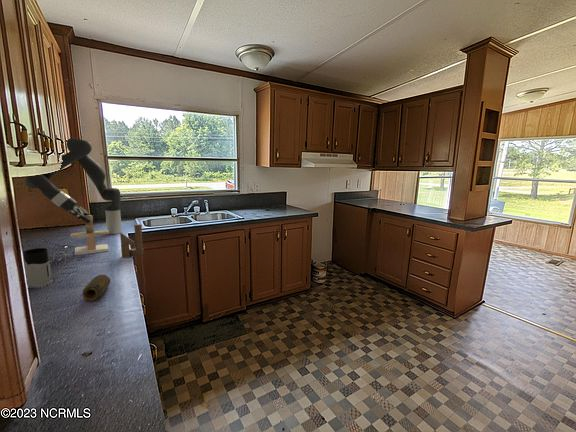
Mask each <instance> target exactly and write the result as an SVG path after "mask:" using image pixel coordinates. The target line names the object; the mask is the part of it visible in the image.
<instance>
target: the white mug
mask: <svg viewBox="0 0 576 432" xmlns="http://www.w3.org/2000/svg"><path fill="white" fill-rule="evenodd" d="M59 253H60V254H61V253H62V254H63V255H64V262H63V264H62V266H61V267H60V268H59V269H58V270H56V271H55V273H53V274H52V270H51V264H50V263H53V262H54V261H55V255H56V254H59ZM22 254H23V263H25V266H24V271H25V270H26V273H25V276H26V275H27V280H26V283H27V282H28V288H29V286H30V285H31V286H42V285H46V284H49V283H51V282H52V281H53V277H54V276H55V275H56V274H57V273H58V272H59V271H61V270H62V269H64V267H65V266H66V262H67V255H66V253H65V252H63V251H56V252H54V253H53V255H52V260H51V261H50V260H49V252H48V248H45V247H38V248H31V249H26V250H24V251H23V253H22ZM53 282H54V281H53ZM28 288H27V289H28Z"/></svg>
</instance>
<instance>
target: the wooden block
mask: <svg viewBox="0 0 576 432" xmlns="http://www.w3.org/2000/svg"><path fill="white" fill-rule="evenodd" d="M142 226H143V225H142V224H141V223H135V224H134V240H135V241H134V240H133V239H131V238H130V237H128V236H127V235H126V234H125V233H123V232H120V233H119V234H120V235H119V236H120V247H121V249H120V251H121V252H120V253H121V257H122V258H123V259H125V258H130V257H137V256H138V257H139V256H144V255H145V251H144V246H143V227H142ZM131 245H135V248H130V246H131Z"/></svg>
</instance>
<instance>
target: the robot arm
mask: <svg viewBox="0 0 576 432" xmlns="http://www.w3.org/2000/svg"><path fill="white" fill-rule="evenodd" d="M66 149H67V150H68V152H67V153H64V154H62V160H63V162H62V163H61V164H62V165H61V168H60V170H58V171H55V172H52V173H48V174H43V175H36V176H29V177H27V176H26V177H25V180H24V181H25V182H24V183H25V185H26V186H27V187H28V188H31V189H38V190H39V191H41V194H42V196H44V197H45V198H47V199H49V201H51V202H52V203H53V204H55V205H56V206H57V207H59V208H60V209H61V210H63V211H64V212H66V213H67V212H69V213H70V214H71V215H73V216H74V217H75V218H77V219H78V220H82V221H83V222H86V223H89V222H90V221H91V220H90V219H88V218H87V217H86V216H87V215H91V214H90V213H89V211H87V210H86V209H84V208H83V207H82V206H81V205H77V204H78V201H77V200H75V199H74V198H73V197H71V196H70V195H69V194H67V193H66V192H64V191H62V190H61V189H59V188H58V187H57V186H55V185H54V184H53V183H52V182H51V180H50V179H51V178H52V177H54V176H55V175H57V174H58V173H59V172H60V171H62V170H63V169H64V168H66V167H67V166H69V165H71V164H72V163H75V162H76V161H78V164H80V166H81V167H82V169H83V170H84V172H85V173H86V175H87V176H88V178H89V179H90V180H91V181H92V183H93V184H94V186H95V188H96V189H97V191H98V193H99V195H100V196H101V197H100V198H102V200H104V201H106V202H107V201H108V202H109V201H111V204H108V205H106V206H105V207H104V210H105V223H106V230H108V231H109V234H108V235H117V234H120V232H121V233H123V231H122V217H121V216H122V215H121V214H122V213H121V197H122V195H121V191H120V189H119V188H118V187H117V188H116V187H107V186H106V184H105V180H106V173H105V171H104V169H103V168H102V167H101V165H100V163H98V162H97V161H95V160H94V159H93V158H92V157H91V156H90V153H91V152H92V145H91V142H89V141H88V140H84V139H81V138H77V137H70V138H68V139H67V140H66ZM92 218H93V219H94V216H92ZM86 223H85V224H86Z"/></svg>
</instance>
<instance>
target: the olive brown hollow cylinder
mask: <svg viewBox="0 0 576 432" xmlns="http://www.w3.org/2000/svg"><path fill="white" fill-rule="evenodd" d="M110 284H111V278H110V277H109V276H108V275H106V274H98V275H96V276H94V277H93V278H92V279H91V280H90V281H89V283H87V285H86V286H84V289H83V290H82V297H83V298H84V300H86V301H88V302H89V301H90V302H92V301H94V302H95V301H96V300H98V299H100V297H101V296H102V295H103V294H104V293H105V291H106V290H107V289H108V287H109V286H110Z"/></svg>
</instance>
